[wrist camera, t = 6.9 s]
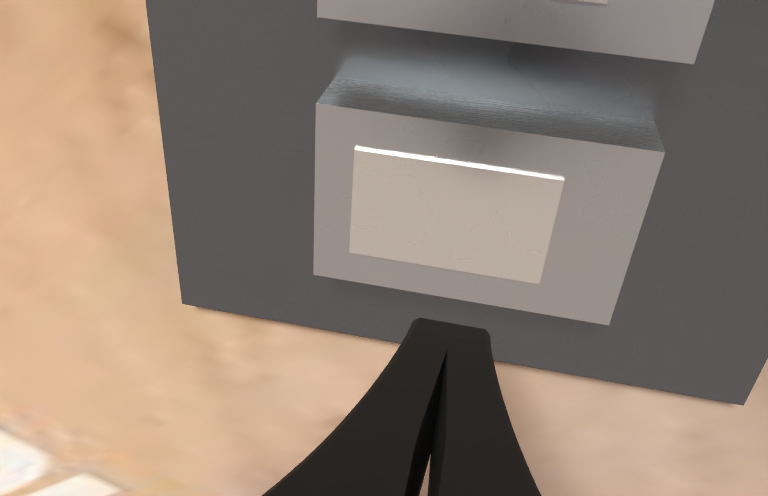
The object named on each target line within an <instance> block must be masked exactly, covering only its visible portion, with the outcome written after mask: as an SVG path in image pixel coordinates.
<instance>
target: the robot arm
mask: <svg viewBox="0 0 768 496" xmlns="http://www.w3.org/2000/svg"><path fill="white" fill-rule="evenodd" d="M430 454H431V457H430ZM429 457H430V471H429V485H428V496H541V494H540V492H539V490H538V488H537V486H536V484H535V481H534V479H533V477H532V475H531V473H530V470H529V468H528V466H527V463H526V461H525V459H524V456H523V454H522V451H521V449H520V446H519V444H518V441H517V439H516V436H515V433H514V430H513V428H512V425H511V422H510V419H509V416H508V413H507V410H506V406H505V403H504V400H503V397H502V394H501V390H500V387H499V383H498V379H497V375H496V371H495V366H494V361H493V356H492V349H491V340H490V334H489V333H488V332H487V330H486V329H482V328H476V327H471V326H465V325H459V324H453V323H448V322H442V321H436V320H431V319H425V318H417V319H416V320H414V321H412V323H411V326H410V328H409V330H408V332H407V334H406V336H405V338H404V340H403V341H402V343H401V345H400V346H399V348H398V350H397V351H396V353H395V354H394V356H393V357H392V359H391V360H390V362H389V363H388V365H387V366H386V368H385V369H384V370H383V372H382V373H381V374H380V376H379V377H378V378H377V380H376V381H375V382H374V384H373V385H372V386H371V388H370V389H369V390H368V392H367V393H366V394H365V395H364V397H363V398H362V399H361V400H360V401H359V402H358V404H357V405H356V406H355V407H354V408H353V409H352V410H351V412H350V413H349V414H348V415H347V416H346V417H345V419H344V420H343V421H342V422H341V423H340V424H339V425H338V426H337V427H336V429H335V430H334V431H333V432H332V433H331V434H330V435H329V436H328V437H327V438H326V439H325V440H324V441H323V442H322V443H321V444H320V445H319V446H318V447H317V448H316V449H315V450H314V451H313V452H312V453H311V454H310V455H309V456H308V457H306V458H305V459H304V460H303V461H302V462H301V463H300V464H299V465H297V466H296V467H295V468H294V469H293V470H292V471H291V472H290V473H288V474H287V475H286V476H285V477H284V478H283V479H282V480H280V481H279V482H278V483H277V484H276V485H274V486H273V487H272V488H271V489H269V490H268V491H267V492H266V493H264V494H263V495H262V496H419V494H420V490H421V487H422V483H423V479H424V476H425V472H426V468H427V465H428V461H429Z"/></svg>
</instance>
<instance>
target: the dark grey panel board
mask: <svg viewBox="0 0 768 496" xmlns="http://www.w3.org/2000/svg"><path fill="white" fill-rule="evenodd" d="M146 7H147V16H148V24H149V32H150V41H151V49H152V57H153V66H154V74H155V82H156V90H157V99H158V107H159V115H160V124H161V132H162V140H163V149H164V157H165V165H166V173H167V182H168V190H169V198H170V207H171V215H172V223H173V232H174V240H175V248H176V257H177V265H178V273H179V281H180V290H181V298H182V304H186V305H192V306H197V307H203V308H208V309H214V310H219V311H225V312H230V313H236V314H241V315H247V316H252V317H258V318H263V319H269V320H274V321H280V322H285V323H291V324H297V325H302V326H308V327H313V328H319V329H324V330H330V331H335V332H341V333H346V334H352V335H357V336H363V337H368V338H374V339H379V340H385V341H390V342H396V343H402V341H403V340H404V338H405V336H406V334H407V332H408V330H409V328H410V326H411V323H412V321H414V320H416V319H417V318H425V319H431V320H436V321H442V322H448V323H453V324H459V325H465V326H471V327H476V328H482V329H486V330H487V332H488V333H489V334H490V340H491V349H492V356H493V360H495V361H501V362H506V363H512V364H517V365H523V366H528V367H534V368H540V369H545V370H551V371H556V372H562V373H567V374H573V375H578V376H584V377H589V378H595V379H600V380H606V381H611V382H617V383H622V384H628V385H633V386H639V387H644V388H650V389H656V390H661V391H667V392H672V393H678V394H683V395H689V396H694V397H700V398H705V399H711V400H716V401H722V402H727V403H733V404H738V405H744V403H745V401H746V399H747V397H748V396H749V394H750V392H751V390H752V388H753V386H754V384H755V382H756V380H757V378H758V376H759V374H760V372H761V370H762V368H763V366H764V364H765V362H766V360H767V358H768V0H715V1H714V4H713V7H712V10H711V14H710V17H709V20H708V23H707V26H706V29H705V32H704V35H703V38H702V41H701V44H700V47H699V50H698V53H697V57H696V60H695V63H694V64H688V63H680V62H672V61H664V60H656V59H648V58H640V57H632V56H624V55H616V54H608V53H600V52H592V51H584V50H576V49H568V48H560V47H552V46H544V45H536V44H528V43H520V42H512V41H504V40H496V39H488V38H480V37H472V36H464V35H456V34H448V33H440V32H432V31H424V30H416V29H408V28H400V27H392V26H384V25H376V24H368V23H360V22H352V21H344V20H336V19H328V18H320V17H317V0H146ZM334 78H339V79H347V80H354V81H361V82H369V83H376V84H384V85H391V86H398V87H406V88H413V89H420V90H428V91H435V92H443V93H450V94H457V95H465V96H472V97H479V98H487V99H494V100H502V101H509V102H516V103H524V104H531V105H538V106H546V107H553V108H561V109H568V110H575V111H583V112H590V113H597V114H605V115H612V116H620V117H627V118H634V119H642V120H649V121H654V122H655V125H656V127H657V130H658V133H659V136H660V139H661V142H662V145H663V148H664V150H665V155H664V158H663V161H662V164H661V167H660V170H659V173H658V176H657V179H656V182H655V185H654V188H653V191H652V195H651V198H650V201H649V204H648V207H647V210H646V213H645V216H644V219H643V222H642V225H641V228H640V231H639V234H638V238H637V241H636V244H635V247H634V250H633V253H632V256H631V259H630V262H629V265H628V268H627V271H626V274H625V277H624V280H623V284H622V287H621V290H620V293H619V296H618V299H617V302H616V305H615V308H614V311H613V314H612V317H611V320H610V323H609V325H604V324H598V323H592V322H586V321H580V320H575V319H569V318H563V317H557V316H551V315H545V314H540V313H534V312H528V311H522V310H516V309H510V308H505V307H499V306H493V305H487V304H481V303H475V302H470V301H464V300H458V299H452V298H446V297H440V296H435V295H429V294H423V293H417V292H411V291H405V290H400V289H394V288H388V287H382V286H376V285H371V284H365V283H359V282H353V281H347V280H341V279H336V278H330V277H324V276H318V275H313V265H314V195H315V124H316V102H317V101H318V100H319V98H320V97H321V96H322V94H323V93H324V92H325V90H326V89H327V88H328V86H329V85H330V84H331V82H332V81H333V80H334Z"/></svg>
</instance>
